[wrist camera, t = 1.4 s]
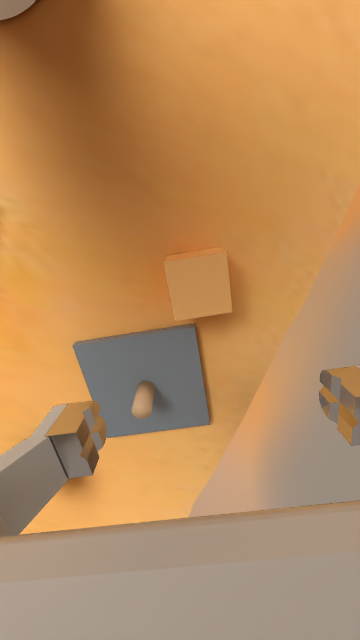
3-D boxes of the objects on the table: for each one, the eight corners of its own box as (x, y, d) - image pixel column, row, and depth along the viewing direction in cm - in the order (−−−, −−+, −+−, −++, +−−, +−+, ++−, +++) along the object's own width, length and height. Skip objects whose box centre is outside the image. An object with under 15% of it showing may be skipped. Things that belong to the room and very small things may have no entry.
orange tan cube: (166, 255, 28) (163, 262, 22) (217, 247, 28) (226, 251, 22) (175, 304, 30) (174, 321, 24) (222, 296, 30) (232, 312, 24)
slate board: (76, 341, 32) (55, 364, 27) (194, 323, 31) (197, 342, 26) (108, 431, 38) (96, 465, 32) (209, 418, 37) (214, 450, 31)
